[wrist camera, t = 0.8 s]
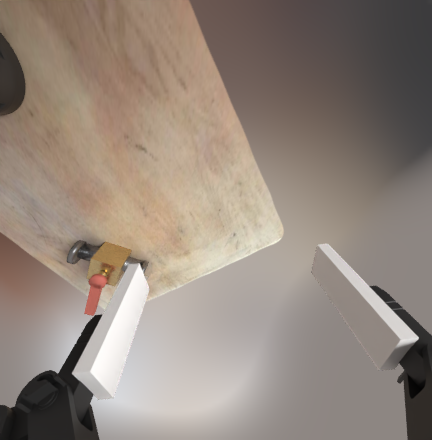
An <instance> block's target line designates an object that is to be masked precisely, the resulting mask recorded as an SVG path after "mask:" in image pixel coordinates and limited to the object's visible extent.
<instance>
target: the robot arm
mask: <svg viewBox="0 0 432 440" xmlns="http://www.w3.org/2000/svg"><path fill="white" fill-rule="evenodd" d="M24 95H25V80H24V75H23V71H22V68H21V65H20V63H19V60H18V58H17V56H16V54H15V53H14V51H13V49H12V48H11V46H10V45H9V43H8V42H7V40H6V39H5V38H4V36H3V35H2V34H1V33H0V115H5V114H9V113H12V112H13V111H15V110H16V109H17V108H18V107H19V106H20V105H21V103H22V101H23V99H24ZM311 273H312V274H313V275H314V277H315V278H316V279H317V281H318V283H319V284H320V286H321V287H322V289H323V290H324V291H325V293H326V294H327V296H328V297H329V299H330V300H331V302H332V303H333V305H334V306H335V308H336V309H337V310H338V312H339V313H340V315H341V316H342V318H343V319H344V321H345V322H346V324H347V325H348V327H349V328H350V329H351V331H352V332H353V334H354V335H355V337H356V338H357V340H358V341H359V343H360V344H361V346H362V347H363V348H364V350H365V351H366V353H367V354H368V356H369V357H370V359H371V360H372V362H373V363H374V364H375V366H376V368H377V369H378V370H379V371H383V370H392V369H395V368H396V367H397V365H398V364H399V363H400V365H401V366H402V367H403V368H404V372H403V373H402V374H401V375H400V376H399V378H398V380H397V382H398V383H401V382H402V381H403V380H404V392H405V407H406V422H407V436H408V440H432V336H431V335H430V334H429V333H428V332H427V331H426V330H425V329H424V328H423V327H422V326H421V325H420V324H419V323H418V322H417V321H416V320H415V319H414V318H413V317H412V316H411V315H410V314H408V312H406V310H403V308H402V307H401V306H400V305H399V304H398V303H396V301H395V300H394V299H393V298H392V297H391V296H390V295H389V294H388V293H387V292H385V291H384V290H382V289H380V288H379V287H377V286H368V285H367V284H366V283H365V282H364V281H363V280H362V279H361V278H360V276H359V275H357V274H356V272H355V271H353V269H352V268H351V267H350V266H349V265H348V264H347V263H346V262H345V261H344V260H343V259H342V258H341V257H340V256H339V255H338V254H337V253H336V252H335V251H334V250H333V249H332V248H331V247H330V246H329V245H328V244H320V245H317V248H316V253H315V257H314V262H313V267H312V271H311ZM148 292H149V287H148V284H147V281H146V279H145V276H144V274H143V271H142V269H141V266H140V263H138V264H129V266H128V267H127V269H126V271H125V273H124V275H123V277H122V279H121V281H120V283H119V285H118V287H117V288H116V290H115V292H114V294H113V296H112V298H111V300H110V302H109V304H108V306H107V308H106V309H105V311H104V313H103V315H95V316H94V317H93V318H92V319H91V320H90V321H89V322H88V323H87V325H86V326H85V328H84V330H83V332H82V333H81V336H80V337H79V339H78V340H77V343H76V344H75V346H74V347H73V349H72V351H71V352H70V354H69V356H68V358H67V359H66V361H65V363H64V365H63V366H62V368H61V370H60V372H59V373H58V374H57V373H56V372H55V371H52V370H49V371H45V372H43V373H41V374H39V375H37V376H36V377H35V378H33V379H32V380H31V381H30V382H29V383H28V384H27V385H26V386H25V387H24V388H23V390H22V391H21V393H20V395H19V396H18V398H17V401H16V405H15V407H12V408H9V407H7V406H5V405H0V440H99V436H98V432H97V427H96V423H95V419H94V415H93V410H92V407H91V405H90V402H91V399H92V397H93V395H94V396H95V397H96V398H97V399H98V400H99V399H109V398H114V395H115V392H116V389H117V386H118V383H119V380H120V377H121V374H122V371H123V368H124V365H125V362H126V359H127V356H128V353H129V350H130V347H131V344H132V340H133V337H134V334H135V332H136V329H137V326H138V322H139V319H140V316H141V313H142V310H143V307H144V304H145V301H146V298H147V295H148Z"/></svg>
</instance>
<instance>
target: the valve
mask: <svg viewBox="0 0 432 440" xmlns="http://www.w3.org/2000/svg"><path fill="white" fill-rule="evenodd" d="M130 253H131V250H130V249H127V248H123V247H120V246H117V245H114V244H111V243H108V242H105V243H104V244H103V245H102V246H101V247H100V248H99V247H96V246H93V245H90V244H87V243H86V242H84V241H81V240H79V241H77V242H76V243H75V244H74V246H73V247H72V248H71V250H70V252H69V254H68V256H67V262H68V263H71V264H76V263H77V262H78V261H79V260H80V259H84V260H87V261H90V265H89V270H88V274H87V279H90V278H91V277H92V275H94V274H102V275H104V276H105V277H106V278H107V283H106V284H108V285H112V286H116V284H117V282H118V280H119V279H120V277H121V275H122V273H123V272H125V271H126V269H127V267H128V266H129V264H138V263H140V266H141V269H142V271H143V274H144V273H145V270H146V268H147V265H148V263H149V262H147V261H140V260H137V259H134V258H131V257H129V256H130ZM144 276H145V279H146V280H147V279H148V276H146V275H144Z"/></svg>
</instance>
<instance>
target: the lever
mask: <svg viewBox="0 0 432 440" xmlns="http://www.w3.org/2000/svg"><path fill="white" fill-rule="evenodd" d="M106 283H107V278H106V277H105V276H104V275H102V274H94V275H92V277H91V278H90V279H89V284H90V286H91V287H90V292H89V296H88V300H87V305H86V309H85V314H88V315H92V316H93V315H94V314H95V312H96V308H97V305H98V301H99V298H100V294H101V291H102V288H103V287H104V286H105V285H106Z"/></svg>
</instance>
